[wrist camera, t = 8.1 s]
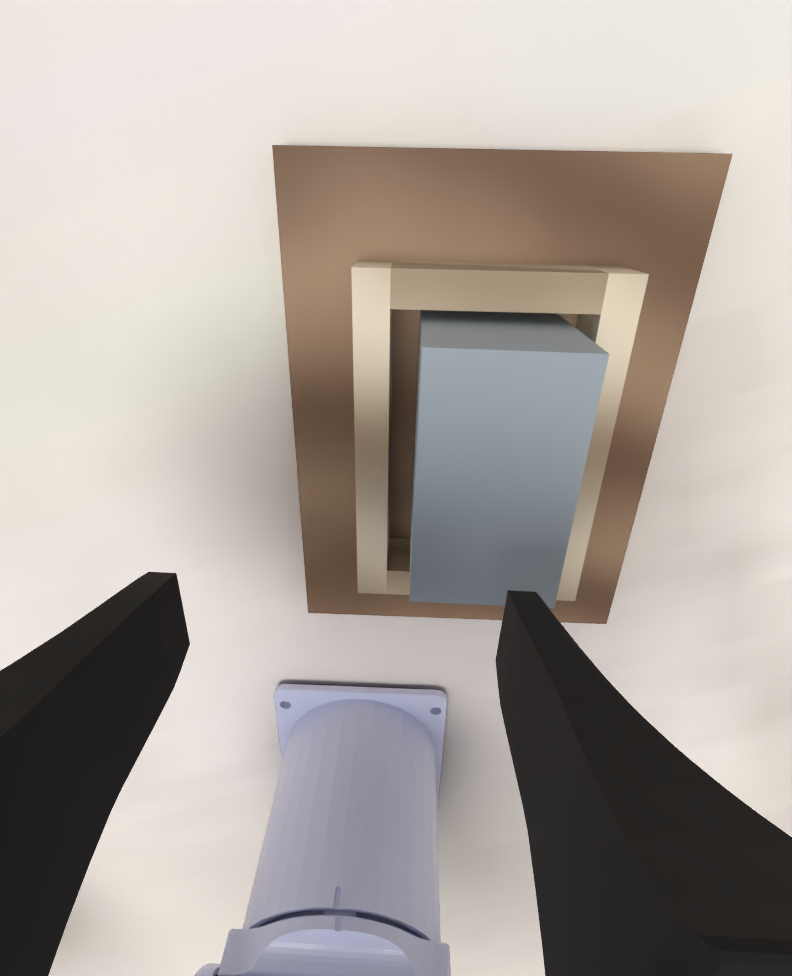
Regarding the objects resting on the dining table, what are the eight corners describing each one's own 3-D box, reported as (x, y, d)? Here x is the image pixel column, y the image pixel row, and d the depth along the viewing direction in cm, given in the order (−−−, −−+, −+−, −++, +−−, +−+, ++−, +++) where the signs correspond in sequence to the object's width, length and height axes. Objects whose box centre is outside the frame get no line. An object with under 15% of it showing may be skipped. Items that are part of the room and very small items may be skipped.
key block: (555, 312, 16) (609, 354, 11) (522, 514, 19) (554, 608, 15) (420, 307, 16) (422, 347, 11) (411, 510, 19) (409, 601, 15)
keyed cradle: (598, 607, 22) (623, 661, 20) (312, 596, 22) (298, 649, 20) (713, 156, 15) (779, 146, 12) (280, 148, 15) (251, 136, 12)
